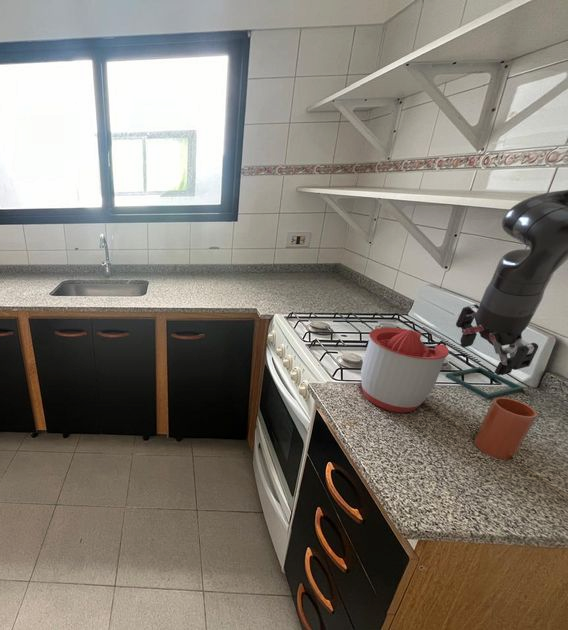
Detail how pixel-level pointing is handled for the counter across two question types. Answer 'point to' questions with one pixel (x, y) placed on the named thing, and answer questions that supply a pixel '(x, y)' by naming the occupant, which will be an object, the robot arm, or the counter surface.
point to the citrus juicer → (399, 369)
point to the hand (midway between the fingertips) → (482, 358)
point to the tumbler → (504, 428)
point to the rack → (478, 369)
